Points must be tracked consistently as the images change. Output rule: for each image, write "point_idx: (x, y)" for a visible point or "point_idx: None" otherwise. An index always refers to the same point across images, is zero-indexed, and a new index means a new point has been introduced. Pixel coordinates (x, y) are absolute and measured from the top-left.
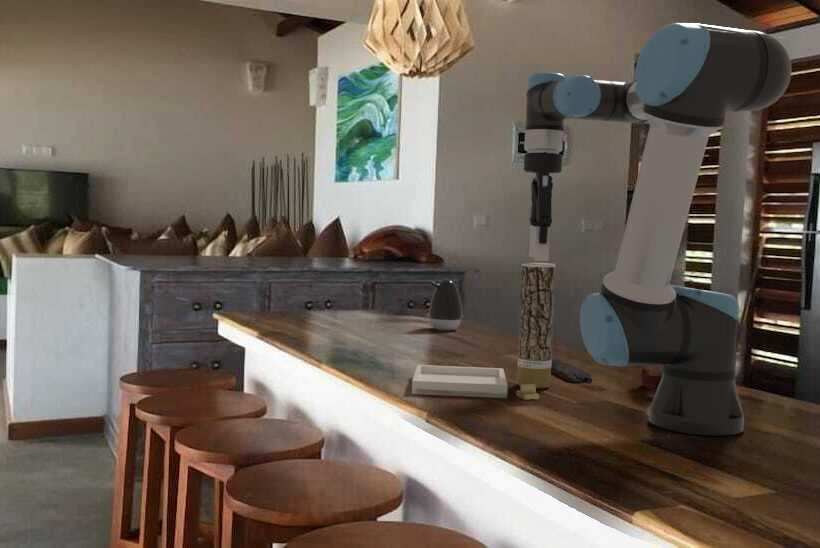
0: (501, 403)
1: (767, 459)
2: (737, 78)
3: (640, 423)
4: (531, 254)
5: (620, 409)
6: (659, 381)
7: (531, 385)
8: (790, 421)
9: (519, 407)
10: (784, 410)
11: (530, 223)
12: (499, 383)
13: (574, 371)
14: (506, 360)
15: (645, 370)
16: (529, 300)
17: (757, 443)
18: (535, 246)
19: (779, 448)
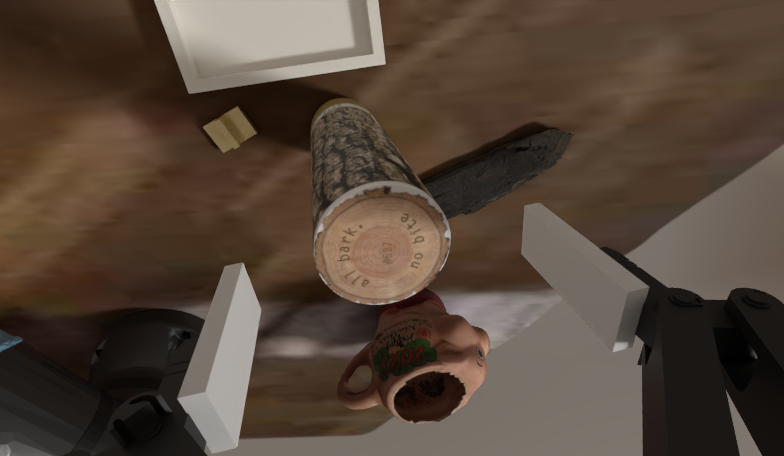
0: (139, 83)
1: None
2: None
3: (132, 300)
4: (529, 218)
5: (217, 272)
6: (377, 317)
7: (229, 140)
8: (259, 423)
9: (125, 122)
10: (320, 417)
11: (672, 293)
12: (289, 64)
13: (457, 195)
14: (610, 47)
15: (410, 306)
16: (314, 176)
17: None
18: (209, 309)
19: None
